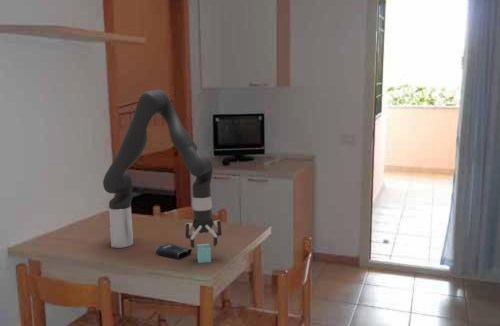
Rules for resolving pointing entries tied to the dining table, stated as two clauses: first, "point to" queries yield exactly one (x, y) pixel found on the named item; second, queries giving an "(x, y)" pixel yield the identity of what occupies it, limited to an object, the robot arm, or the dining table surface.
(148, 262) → the dining table surface
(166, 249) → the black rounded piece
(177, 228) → the dining table surface
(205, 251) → the teal block
